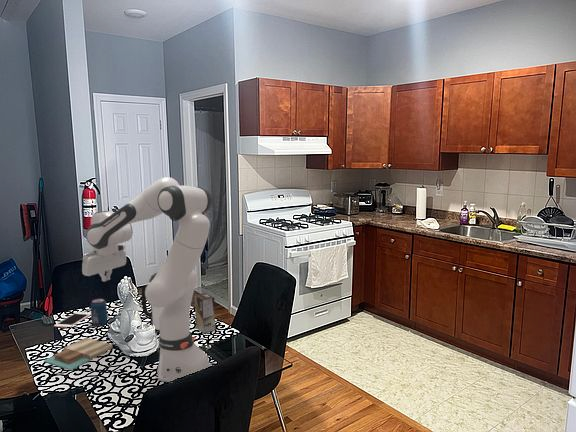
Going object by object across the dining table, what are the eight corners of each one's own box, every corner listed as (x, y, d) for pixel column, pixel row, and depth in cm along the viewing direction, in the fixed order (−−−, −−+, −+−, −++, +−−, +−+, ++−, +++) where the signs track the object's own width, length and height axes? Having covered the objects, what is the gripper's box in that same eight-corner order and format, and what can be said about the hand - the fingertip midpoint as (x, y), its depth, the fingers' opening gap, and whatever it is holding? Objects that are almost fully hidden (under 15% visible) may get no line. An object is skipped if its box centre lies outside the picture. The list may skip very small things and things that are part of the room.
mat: (90, 360, 171) (90, 359, 171) (70, 370, 163) (70, 369, 163) (63, 352, 177) (63, 351, 177) (43, 361, 170) (43, 360, 170)
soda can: (107, 320, 211) (105, 297, 210) (107, 325, 205) (106, 301, 203) (92, 322, 209) (90, 299, 207) (92, 327, 202) (90, 303, 201)
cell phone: (92, 314, 220) (92, 312, 220) (70, 328, 203) (70, 326, 202) (77, 313, 222) (77, 311, 221) (53, 327, 204) (53, 325, 204)
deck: (112, 348, 181) (112, 344, 180) (90, 360, 171) (90, 355, 171) (86, 341, 188) (86, 337, 187) (64, 352, 178) (63, 347, 177)
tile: (82, 357, 172) (82, 353, 172) (69, 364, 167) (69, 359, 166) (68, 353, 176) (67, 348, 176) (54, 359, 171) (54, 354, 170)
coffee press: (179, 320, 212) (177, 261, 207) (184, 332, 197) (181, 270, 192) (143, 325, 205) (139, 265, 201) (144, 338, 191) (141, 274, 186)
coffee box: (216, 330, 200) (215, 297, 197) (203, 333, 196) (202, 300, 194) (207, 323, 207) (206, 292, 205) (195, 327, 203) (193, 295, 201)
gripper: (88, 255, 168) (90, 288, 170) (127, 244, 186) (129, 275, 188) (77, 253, 170) (79, 286, 172) (117, 243, 188) (119, 273, 191)
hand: (106, 280), depth 180 cm, fingers closed
